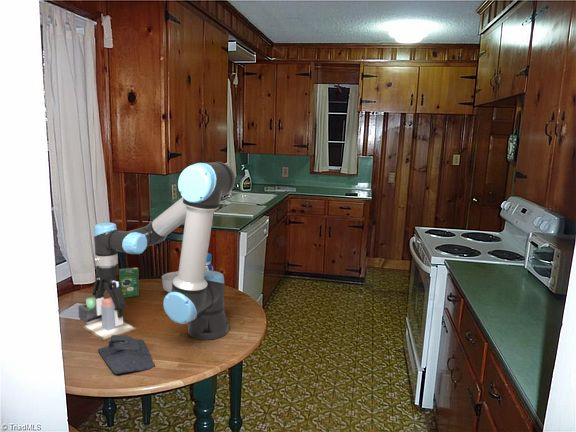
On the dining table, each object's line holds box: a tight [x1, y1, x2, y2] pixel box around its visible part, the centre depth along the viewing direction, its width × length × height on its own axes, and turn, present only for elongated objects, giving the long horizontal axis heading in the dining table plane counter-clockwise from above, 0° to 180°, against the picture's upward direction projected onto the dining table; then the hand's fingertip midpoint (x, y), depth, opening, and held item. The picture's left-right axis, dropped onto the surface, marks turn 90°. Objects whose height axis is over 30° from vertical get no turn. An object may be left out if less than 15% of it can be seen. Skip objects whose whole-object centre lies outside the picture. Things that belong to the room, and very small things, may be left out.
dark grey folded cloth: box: [97, 334, 156, 375], centre depth 141 cm, size 15×22×5 cm
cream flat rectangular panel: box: [80, 318, 138, 342], centre depth 161 cm, size 17×13×1 cm
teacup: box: [161, 270, 179, 294], centre depth 201 cm, size 14×11×8 cm
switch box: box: [78, 303, 102, 323], centre depth 169 cm, size 7×7×5 cm
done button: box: [85, 296, 96, 309], centre depth 169 cm, size 4×4×5 cm
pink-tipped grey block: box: [101, 296, 118, 331], centre depth 160 cm, size 4×4×11 cm
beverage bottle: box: [205, 252, 214, 271], centre depth 193 cm, size 8×8×20 cm
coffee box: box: [118, 267, 140, 299], centre depth 191 cm, size 8×3×13 cm, turn 119°
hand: (109, 319), depth 160 cm, fingers open, 13 cm apart
